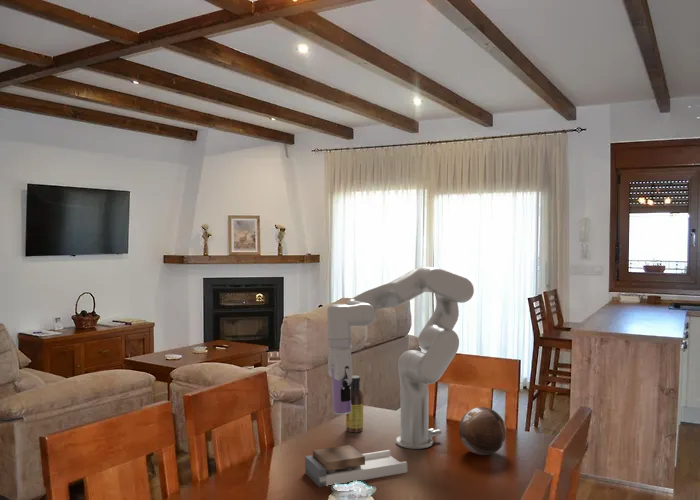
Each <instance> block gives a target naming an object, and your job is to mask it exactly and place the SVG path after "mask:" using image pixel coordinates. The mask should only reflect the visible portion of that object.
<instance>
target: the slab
mask: <svg viewBox="0 0 700 500" xmlns="http://www.w3.org/2000/svg"><path fill="white" fill-rule="evenodd" d="M362 454H363V453H361V452H360V451H358V450H357V449H355V448H354V447H353V446H352V445H350V444H347V445H342V446H341V445H340V446H333V447H327V448H320V449H314V450H313V451H312V456H313V457H314V458H315V459H316V460H317V461H318V462H319V463H320V464H321V465H323V466H324V467H325V468H326V474H333V473H336V471H335V470H336V469H342V468H348V467H349V468H351V469H352V470H356V469H361V466H360V465H365V456H364V455H362Z"/></svg>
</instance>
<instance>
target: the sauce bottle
mask: <svg viewBox="0 0 700 500" xmlns="http://www.w3.org/2000/svg"><path fill="white" fill-rule="evenodd" d="M360 381H361V377H360V376H359V375H352V383H351V412H350V413H349V414H345V428H346V431H347V432H349V433H360V432H362V431H363V429H364V428H363V427H364V401H363V397H364V395H363V392H362V391H361V389H360V388H361V386H360Z"/></svg>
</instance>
